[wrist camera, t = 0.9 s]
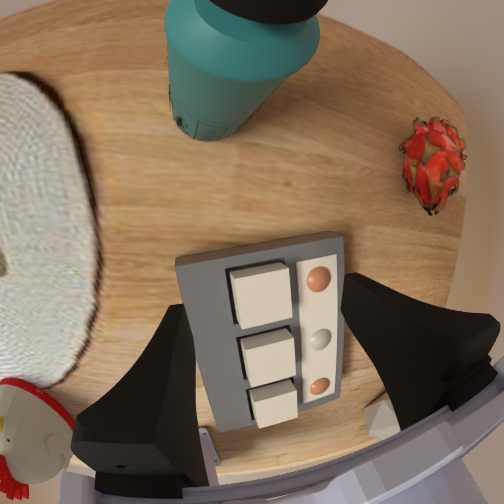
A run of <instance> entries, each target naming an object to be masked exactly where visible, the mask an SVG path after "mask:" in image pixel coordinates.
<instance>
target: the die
mask: <svg viewBox="0 0 504 504" xmlns="http://www.w3.org/2000/svg"><path fill="white" fill-rule="evenodd" d="M363 411H364V416H365V421H366V426H367V432H368V435H369V436H371V437H373V438H375V439H378V440H380V441H382V440H384V439H386V438H388V437H391V436H393V435H395V434H397V433H399V432H401V431H400V427H399V424H398V421H397V417H396V414H395V411H394V409H393V406H392V403H391V401H390V398H389V396H388V393H387V391H386V392H385V393H384V394H383V395H381V396H380V397H379V398H377V399H376V400H375V401H373V402H372V403H371V404H369V405H368V406H367V407H365V408H364V409H363Z"/></svg>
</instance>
